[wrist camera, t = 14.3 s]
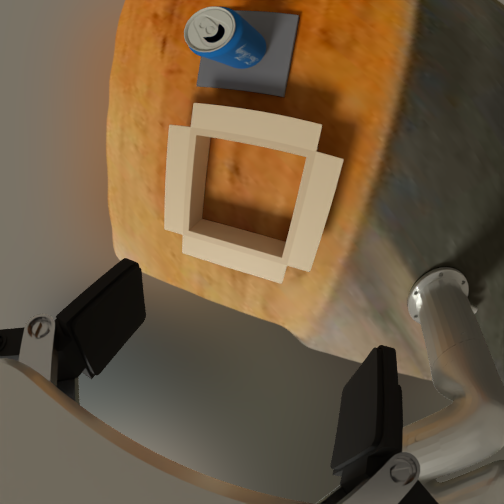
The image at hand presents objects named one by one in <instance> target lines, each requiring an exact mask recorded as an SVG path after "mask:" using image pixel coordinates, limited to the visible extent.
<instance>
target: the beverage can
mask: <svg viewBox="0 0 504 504" xmlns="http://www.w3.org/2000/svg"><path fill="white" fill-rule="evenodd" d="M184 37H185V41H186V43H187V44H188V46H189V48H190V49H191V50H192V51H193V52H194V53H195V54H197V55H199V56H202V57H205V58H208V59H211V60H214V61H217V62H220V63H223V64H226V65H228V66H231V67H234V68H238V69H245V68H250V67H252V66H254V65H256V64H257V63H259V62H260V61H261V60H262V58H263V57H264V55H265V52H266V42H265V39H264V38H263V36H262V35H261V34H260V33H259V32H258V31H257V30H256V29H255V28H254V27H252V26H251V25H250V24H249V23H248V22H247V21H246V20H245V19H244V18H242V17H241V16H240V15H239V14H238V13H237V12H235V11H234V10H232V9H229V8H226V7H207V8H204V9H201V10H199V11H198V12H196V13H195V14H194V15H193V16H192V17H191V18H190V19H189V20H188V22H187V24H186V26H185V30H184Z"/></svg>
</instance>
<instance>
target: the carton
mask: <svg viewBox="0 0 504 504" xmlns="http://www.w3.org/2000/svg"><path fill="white" fill-rule="evenodd" d="M321 129H322V125H321V124H318V123H314V122H310V121H305V120H301V119H297V118H292V117H287V116H283V115H278V114H272V113H267V112H262V111H256V110H249V109H243V108H236V107H229V106H221V105H212V104H202V103H194V104H193V112H192V120H191V127H187V126H178V125H169V134H168V147H167V162H166V182H165V226H164V229H165V230H169V231H172V232H175V233H179V234H182V235H183V245H182V253H184V254H187V255H190V256H193V257H196V258H199V259H203V260H206V261H209V262H212V263H215V264H219V265H222V266H225V267H228V268H231V269H235V270H238V271H241V272H244V273H248V274H251V275H254V276H257V277H261V278H264V279H267V280H271V281H274V282H277V283H281V284H282V281H283V278H284V274H285V271H286V267H287V266H291V267H294V268H297V269H301V270H304V271H308V272H310V270H311V267H312V264H313V261H314V258H315V255H316V252H317V249H318V246H319V243H320V239H321V236H322V233H323V230H324V227H325V224H326V220H327V217H328V214H329V210H330V207H331V204H332V200H333V197H334V193H335V190H336V186H337V183H338V179H339V175H340V172H341V168H342V164H343V160H344V159H342V158H338V157H335V156H332V155H328V154H324V153H321V152H317V150H318V147H317V146H318V142H319V138H320V133H321ZM211 137H213V138H219V139H225V140H231V141H236V142H242V143H247V144H252V145H257V146H262V147H266V148H271V149H275V150H280V151H284V152H288V153H292V154H296V155H300V156H304V157H307V158H306V162H305V166H304V171H303V175H302V179H301V183H300V188H299V192H298V196H297V200H296V204H295V208H294V212H293V216H292V220H291V224H290V228H289V232H288V236H287V240H286V242H284V241H281V240H277V239H274V238H270V237H267V236H263V235H260V234H256V233H253V232H249V231H245V230H242V229H238V228H235V227H231V226H227V225H224V224H220V223H216V222H213V221H209V220H205V219H202V214H203V203H204V192H205V182H206V172H207V163H208V154H209V146H210V138H211Z"/></svg>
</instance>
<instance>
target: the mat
mask: <svg viewBox="0 0 504 504" xmlns="http://www.w3.org/2000/svg"><path fill="white" fill-rule="evenodd" d="M235 12H237V13H238V14H239V15H240V16H241V17H242V18H244V19H245V20H246V21H247V22H248V23H249V24H250V25H251V26H252V27H254V28H255V29H256V30H257V31H258V32H259V33H260V34H261V35H262V36H263V38H264V39H265V42H266V52H265V55H264V57H263V58H262V60H261V61H260V62H259V63H257V64H256V65H254V66H252V67H250V68H245V69H238V68H234V67H231V66H228V65H226V64H223V63H220V62H217V61H214V60H211V59H208V58H205V57H202V56H201V61H200V67H199V73H198V80H197V86H199V87H213V88H224V89H233V90H242V91H250V92H257V93H263V94H269V95H275V96H281V97H284V96H285V91H286V86H287V81H288V75H289V70H290V65H291V60H292V54H293V49H294V44H295V38H296V33H297V28H298V22H299V15H293V14H284V13H274V12H261V11H235Z"/></svg>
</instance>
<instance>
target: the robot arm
mask: <svg viewBox="0 0 504 504" xmlns="http://www.w3.org/2000/svg"><path fill="white" fill-rule="evenodd" d="M468 293H469V286H468V282H467V280H466V278H465V276H464V275H463V274H462V273H461V272H460V271H459V270H457V269H454V268H450V267H441V268H437V269H434V270H432V271H430V272H428V273H426V274H425V275H423V276H422V277H421V278H420V279H419V280H418V281H417V282H416V283H415V284H414V286H413V287H412V289H411V291H410V293H409V296H408V310H409V313H410V316H411V317H412V318H413V319H414V320H415V321H416V322H418V323H420V324H421V327H422V331H423V335H424V340H425V344H426V349H427V353H428V358H429V363H430V369H431V374H432V380H433V383H434V386H435V388H436V389H437V391H438V392H439V393H440V394H442V395H443V396H445V397H446V398H448V399H450V400H452V401H453V402H452V404H450V405H449V406H447V407H445V408H443V409H442V410H440V411H438V412H436V413H434V414H432V415H430V416H428V417H425V418H423V419H421V420H419V421H417V422H414V423H412V424H409V425H407V426H405V427H403V410H402V390H401V387H400V385H398V374H397V361H396V351H395V349H394V348H391V347H387V346H383V345H380V346H379V347H378V348H373V350H372V351H371V352H370V354H369V355H368V357H367V358H366V359H365V361H364V362H363V363H362V365H361V366H360V367H359V369H358V370H357V371H356V373H355V374H354V375H353V376H352V378H351V379H350V380H349V382H348V383H347V384H346V385H345V387H344V389H343V392H342V398H341V407H340V413H339V420H338V427H337V433H336V439H335V445H334V451H333V456H332V461H331V468H332V469H334V471H333V475H337V476H342V477H341V482H340V486H338V487H337V488H336V489H334V490H333V491H332V492H331V493H329V494H328V495H327V496H325V497H324V498H323V499H321V500H320V501H318V502H317V503H316V504H504V460H498V461H494V462H492V463H489V464H487V465H484V466H482V467H480V468H477V469H475V470H473V471H470V472H468V473H465V474H463V475H460V476H458V477H455V478H452V479H450V480H447V481H444V482H438V481H437V480H436V479H437V478H440V477H443V476H445V475H449V474H451V473H455V472H457V471H460V470H462V469H465V468H467V467H470V466H472V465H474V464H476V463H479V462H481V461H483V460H485V459H487V458H488V457H490V456H492V455H493V454H495V453H496V452H497V451H499V450H500V449H501V448H502V447H503V446H504V386H503V383H502V381H501V379H500V376H499V374H498V372H497V369H496V367H495V364H494V362H493V359H492V356H491V354H490V351H489V348H488V346H487V344H486V341H485V338H484V336H483V333H482V331H481V329H480V326H479V324H478V322H477V319H476V317H475V315H474V313H476V312H477V306H474V305H471V304H470V302H469V300H468ZM145 317H146V312H145V304H144V294H143V283H142V272H141V268H139V264H138V263H137V262H134V261H132V260H129V259H127V258H124V259H122V260H121V261H120V262H119V263H117V264H116V265H115V266H114V267H113V268H111V269H110V270H109V271H108V272H106V273H105V274H104V275H103V276H102V277H100V278H99V279H98V280H97V281H96V282H94V283H93V284H92V285H91V286H90V287H89V288H87V289H86V290H85V291H84V292H83V293H82V294H80V295H79V296H78V297H77V298H76V299H75V300H73V301H72V302H71V303H70V304H69V305H68V306H67V307H66V308H64V309H63V310H62V311H61V312H60V313H59V314H58V315H57V316H56V318H57V319H56V320H55V321H54V319H53V318H52V317H51V316H50V315H47V314H38V315H35V316H33V317H32V318H31V319H29V320H28V322H27V323H26V325H25V327H24V328H15V329H3V330H0V504H312V503H306V502H300V501H295V500H290V499H285V498H281V497H276V496H272V495H268V494H264V493H260V492H256V491H252V490H249V489H245V488H242V487H239V486H235V485H232V484H229V483H226V482H223V481H220V480H217V479H215V478H212V477H209V476H206V475H204V474H202V473H199V472H197V471H194V470H192V469H189V468H187V467H184V466H183V465H180V464H178V463H176V462H174V461H171V460H169V459H167V458H165V457H163V456H161V455H159V454H157V453H155V452H153V451H151V450H150V449H148V448H146V447H144V446H142V445H140V444H138V443H137V442H135V441H133V440H132V439H130V438H128V437H126V436H125V435H123V434H121V433H120V432H118V431H117V430H115V429H113V428H112V427H110V426H109V425H107V424H105V423H104V422H103V421H101V420H100V419H98V418H97V417H95V416H94V415H92V414H91V413H90V412H88V411H87V410H86V409H84V408H83V407H81V406H80V399H79V375H80V374H81V373H84V374H85V375H86V376H88V377H89V378H91V379H92V378H93V377H94V376H95V375H99V374H100V373H101V372H102V370H103V369H104V368H105V367H106V365H107V364H108V363H109V362H110V361H111V360H112V358H113V357H114V356H115V355H116V354H117V352H118V351H119V350H120V349H121V348H122V346H123V345H124V344H125V343H126V342H127V340H128V339H129V338H130V337H131V336H132V335H133V333H134V332H135V331H136V330H137V329H138V328H139V326H140V325H141V324H142V323H143V322H144V320H145Z"/></svg>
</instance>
